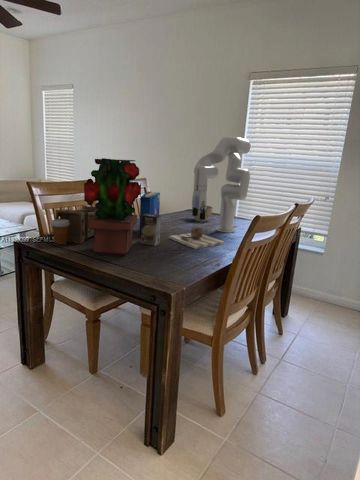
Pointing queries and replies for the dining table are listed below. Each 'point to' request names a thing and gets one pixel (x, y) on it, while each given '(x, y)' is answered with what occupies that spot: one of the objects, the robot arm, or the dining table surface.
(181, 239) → the dial plate
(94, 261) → the dining table surface
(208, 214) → the planter bowl
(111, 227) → the potted plant
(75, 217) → the ornamental box
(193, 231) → the dial pointer knob
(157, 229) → the coffee box
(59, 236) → the disposable coffee cup
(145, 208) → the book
